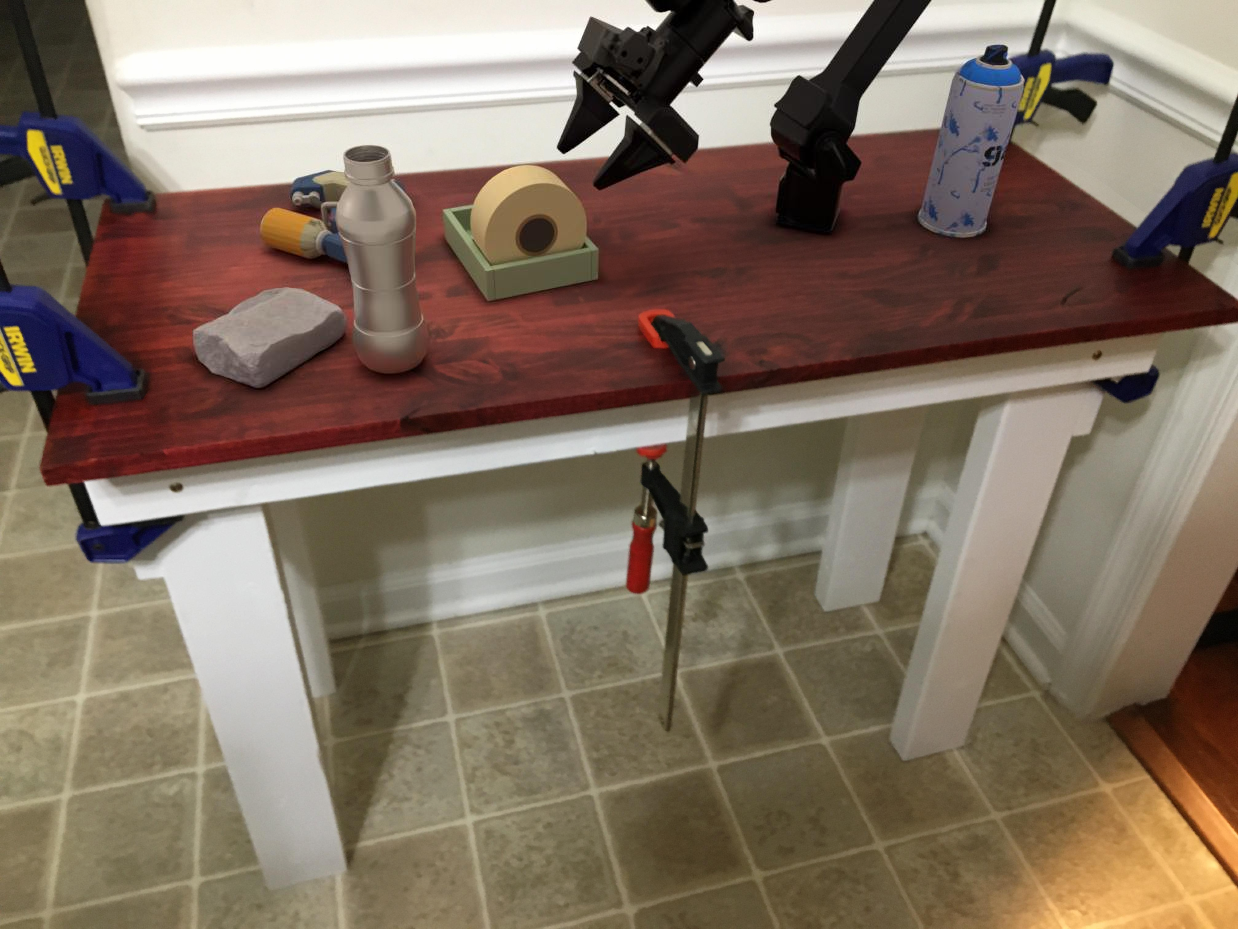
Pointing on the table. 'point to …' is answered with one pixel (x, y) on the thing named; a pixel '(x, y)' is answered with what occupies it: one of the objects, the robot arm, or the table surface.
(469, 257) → the green divided tray
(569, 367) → the table surface
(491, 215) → the masking tape roll
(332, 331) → the stone block
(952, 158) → the aerosol can
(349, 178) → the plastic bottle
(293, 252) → the spray gun
